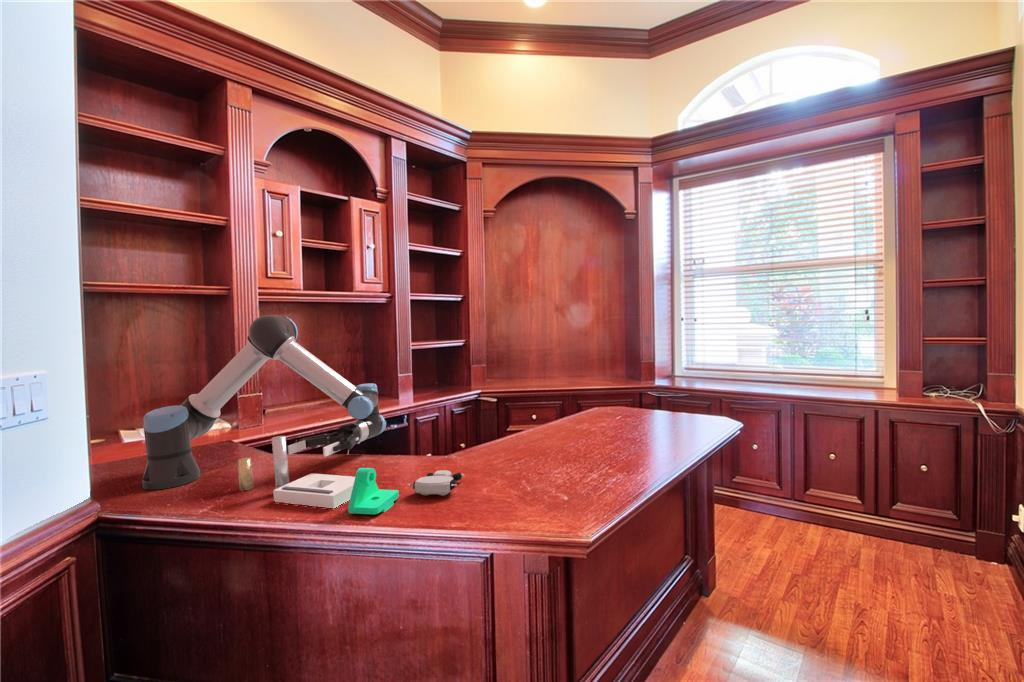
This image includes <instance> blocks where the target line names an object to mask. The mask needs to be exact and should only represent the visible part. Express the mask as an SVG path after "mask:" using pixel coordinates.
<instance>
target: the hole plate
mask: <svg viewBox="0 0 1024 682" xmlns="http://www.w3.org/2000/svg"><path fill="white" fill-rule="evenodd" d="M354 480H355V476H351V475H336V474H324V473H323V474H322V473H314V472H313V473H312V472H311V473H309V474H307V475H304V476H302V477H300V478H298V479H296V480H293V481H291V482H289V483H288V484H286V485H284V486H282V487H279V488H277V489H276V488H275V489H273V492H272V493H273V502H274V501H275V502H284V503H291V504H302V505H309V506H318V507H326V508H333V509H332V510H335V509H334V508H336V507H337V508H339V507H340V506H339V505H341V504H343V503H344V504H346V503H348V502H350V501H349V500H350V498H351V493H352V489H353V485H354ZM347 501H348V502H347ZM345 502H346V503H345ZM344 504H343V505H344ZM338 506H339V507H338ZM341 506H342V505H341ZM326 508H325V509H326ZM337 508H336V509H337Z"/></svg>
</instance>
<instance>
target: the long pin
mask: <svg viewBox="0 0 1024 682" xmlns="http://www.w3.org/2000/svg"><path fill="white" fill-rule="evenodd" d="M271 445H272V446H271V447H272V448H271V449H272V460H273V470H274V482H275V484H274V485H275V489H277V488H279V487H282V486H284V485H286V484H288V483H290V474H289V473H290V472H289V461H288V460H289V459H288V446H287V437H286V435H277V436H273V437H271Z"/></svg>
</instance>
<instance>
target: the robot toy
mask: <svg viewBox="0 0 1024 682" xmlns="http://www.w3.org/2000/svg"><path fill="white" fill-rule="evenodd" d="M464 477H465V474H464V473H460V472H457V473H454V474H452V472H451V471H450V470H446V469H445V470H442V469H441V470H436V471H435V472H434V473H433V472H428V473H427V474H426V476H423V477H419V478H417V479H416V480H415V481H414V482H413V483H407V486H408V487H409V486H412V489H413V490H414V492H415V493H417V494H419V495H422V496H430V495H439V496H441V497H442V496H443V497H444V496H446V495H448V494H449V493H450V492H452V491H453V490H454V489H455V488H456V487H457V485H458V484H457V481H460V480H462V478H464Z"/></svg>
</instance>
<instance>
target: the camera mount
mask: <svg viewBox="0 0 1024 682" xmlns="http://www.w3.org/2000/svg"><path fill="white" fill-rule="evenodd" d="M354 477H355V480H354V485H353V489H352V493H351V498H350V501H348V502H349V503H348V506H347V507H348V514H357V515H359V514H360V515H378V514H379V513H386V512H387V511H388V510H389V509H390V508H392V507H394V506H395V503H394V502H395V501H396V500H397V499H398V498H399V497H400V493H399V489H380V488H379V486H378V484H377V482H376V480H377V472H376V469H375V468H373V467H359V468H358V469H357V471H356V473H355V476H354Z"/></svg>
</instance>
